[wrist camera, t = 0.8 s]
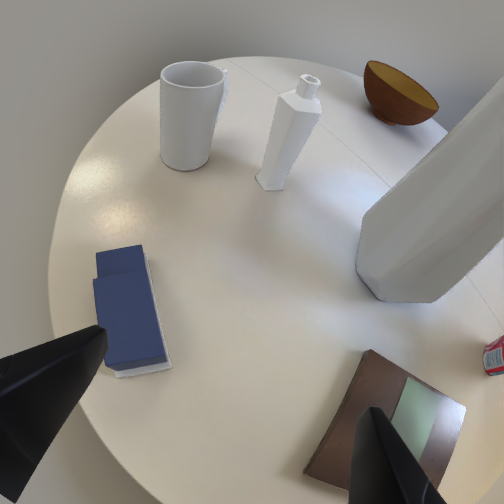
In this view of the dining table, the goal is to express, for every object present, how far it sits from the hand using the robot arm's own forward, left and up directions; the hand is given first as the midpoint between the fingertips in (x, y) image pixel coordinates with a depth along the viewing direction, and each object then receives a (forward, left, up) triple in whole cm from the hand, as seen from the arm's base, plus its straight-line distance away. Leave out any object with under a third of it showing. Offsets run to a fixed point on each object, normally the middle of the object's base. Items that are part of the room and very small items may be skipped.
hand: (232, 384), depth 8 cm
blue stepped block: (+2, +9, -17) cm, 19 cm away
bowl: (+63, -2, -17) cm, 65 cm away
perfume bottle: (+25, +7, -17) cm, 31 cm away
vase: (+22, -11, -17) cm, 30 cm away
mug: (+23, +18, -17) cm, 34 cm away
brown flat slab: (+5, -21, -17) cm, 27 cm away
